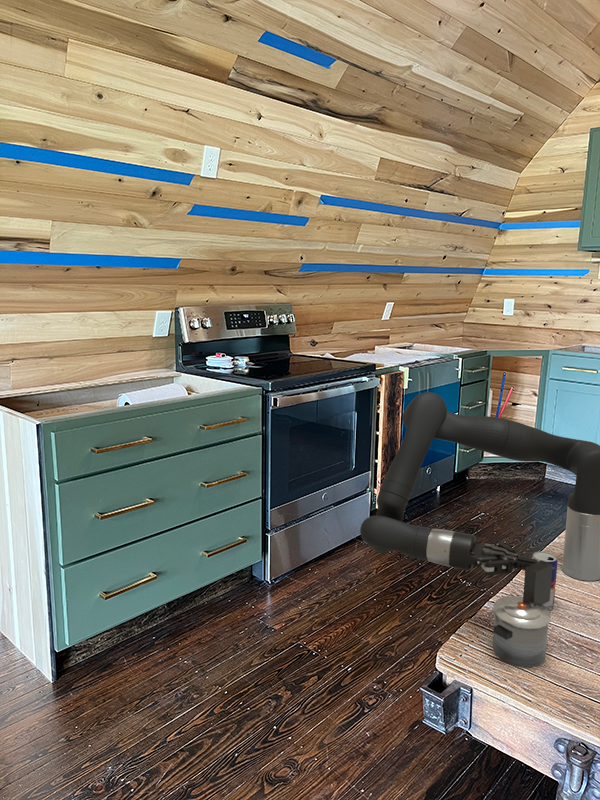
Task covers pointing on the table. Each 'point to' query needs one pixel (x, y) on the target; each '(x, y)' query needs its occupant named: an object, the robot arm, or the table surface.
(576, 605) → the table surface
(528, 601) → the pressure cooker lid
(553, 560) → the energy drink
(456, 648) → the table surface
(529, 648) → the pressure cooker pot
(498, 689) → the table surface
